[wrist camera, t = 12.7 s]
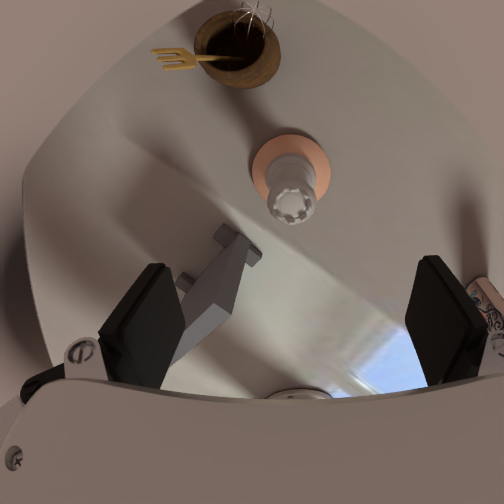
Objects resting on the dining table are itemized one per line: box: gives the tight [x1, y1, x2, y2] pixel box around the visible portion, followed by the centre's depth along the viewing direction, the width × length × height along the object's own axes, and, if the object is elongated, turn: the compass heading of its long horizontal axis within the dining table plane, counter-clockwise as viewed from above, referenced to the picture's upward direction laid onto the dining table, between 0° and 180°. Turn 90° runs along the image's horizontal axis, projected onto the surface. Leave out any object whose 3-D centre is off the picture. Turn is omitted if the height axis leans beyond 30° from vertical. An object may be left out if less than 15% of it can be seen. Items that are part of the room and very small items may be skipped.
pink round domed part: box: [252, 134, 331, 201], centre depth 25 cm, size 7×7×1 cm
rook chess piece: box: [266, 153, 317, 225], centre depth 21 cm, size 4×4×8 cm
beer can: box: [466, 277, 504, 334], centre depth 23 cm, size 5×5×12 cm
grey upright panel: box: [169, 224, 262, 367], centre depth 26 cm, size 10×5×11 cm, turn 141°
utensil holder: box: [151, 0, 281, 89], centre depth 15 cm, size 6×6×12 cm
